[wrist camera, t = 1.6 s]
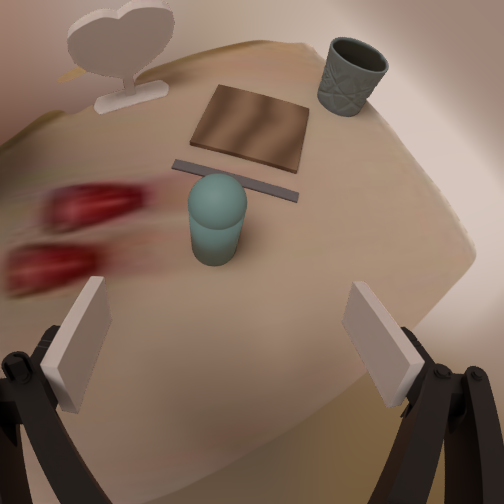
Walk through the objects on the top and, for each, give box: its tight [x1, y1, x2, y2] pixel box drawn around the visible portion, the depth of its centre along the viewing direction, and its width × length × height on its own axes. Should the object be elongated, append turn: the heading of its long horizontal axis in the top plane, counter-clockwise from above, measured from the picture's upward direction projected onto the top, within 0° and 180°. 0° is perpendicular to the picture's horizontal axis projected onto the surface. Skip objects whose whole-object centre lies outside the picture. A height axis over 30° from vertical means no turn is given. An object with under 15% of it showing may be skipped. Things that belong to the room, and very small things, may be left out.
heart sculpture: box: [67, 0, 174, 115], centre depth 38 cm, size 16×5×18 cm, turn 112°
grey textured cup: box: [318, 37, 389, 117], centre depth 47 cm, size 10×10×12 cm
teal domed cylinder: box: [188, 174, 247, 266], centre depth 33 cm, size 6×6×14 cm
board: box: [190, 85, 309, 174], centre depth 47 cm, size 16×14×1 cm
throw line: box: [172, 159, 299, 203], centre depth 43 cm, size 18×2×1 cm, turn 76°
